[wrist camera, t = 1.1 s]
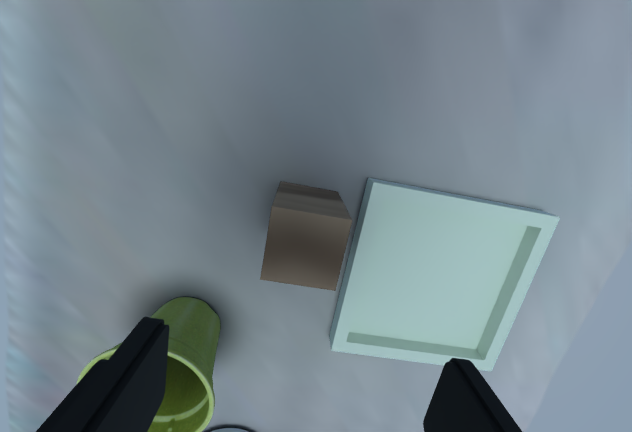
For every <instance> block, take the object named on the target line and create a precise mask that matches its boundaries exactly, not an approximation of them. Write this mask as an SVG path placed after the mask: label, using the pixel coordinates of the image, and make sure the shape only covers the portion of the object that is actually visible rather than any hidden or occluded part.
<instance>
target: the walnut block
mask: <svg viewBox="0 0 632 432" xmlns="http://www.w3.org/2000/svg"><path fill="white" fill-rule="evenodd" d="M351 224H352V219H351V217H350V215H349V213H348V211H347V209H346V207H345V205H344V203H343V201H342V199H341V197H340V195H339V193H338V192H336V191H331V190H325V189H320V188H314V187H309V186H303V185H298V184H293V183H287V182H282V181H281V182H280V185H279V187H278V190H277V193H276V196H275V199H274V201H273V204H272V208H271V214H270V221H269V227H268V233H267V240H266V246H265V252H264V259H263V265H262V271H261V278H260V280H267V281H274V282H280V283H287V284H294V285H300V286H307V287H314V288H320V289H327V290H334V291H335V290H336V286H337V282H338V278H339V274H340V270H341V265H342V261H343V257H344V253H345V249H346V245H347V241H348V236H349V232H350V228H351Z"/></svg>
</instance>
